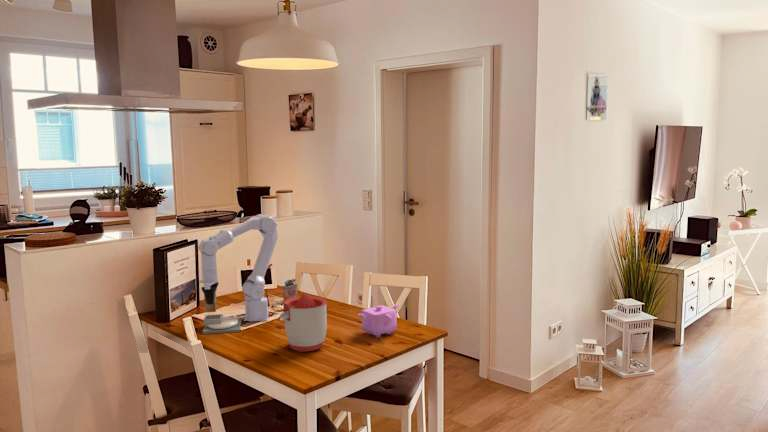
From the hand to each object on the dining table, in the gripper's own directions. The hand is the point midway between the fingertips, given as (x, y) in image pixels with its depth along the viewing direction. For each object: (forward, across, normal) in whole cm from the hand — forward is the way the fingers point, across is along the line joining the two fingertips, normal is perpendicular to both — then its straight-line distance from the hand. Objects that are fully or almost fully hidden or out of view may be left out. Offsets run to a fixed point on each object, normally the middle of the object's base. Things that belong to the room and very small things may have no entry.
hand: (211, 302), depth 241 cm
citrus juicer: (+10, +30, +37) cm, 48 cm away
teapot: (+10, +20, +65) cm, 69 cm away
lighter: (+10, -33, +31) cm, 46 cm away
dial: (+9, +1, +4) cm, 10 cm away
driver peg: (+3, 0, 0) cm, 3 cm away
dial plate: (+10, +1, +4) cm, 11 cm away
